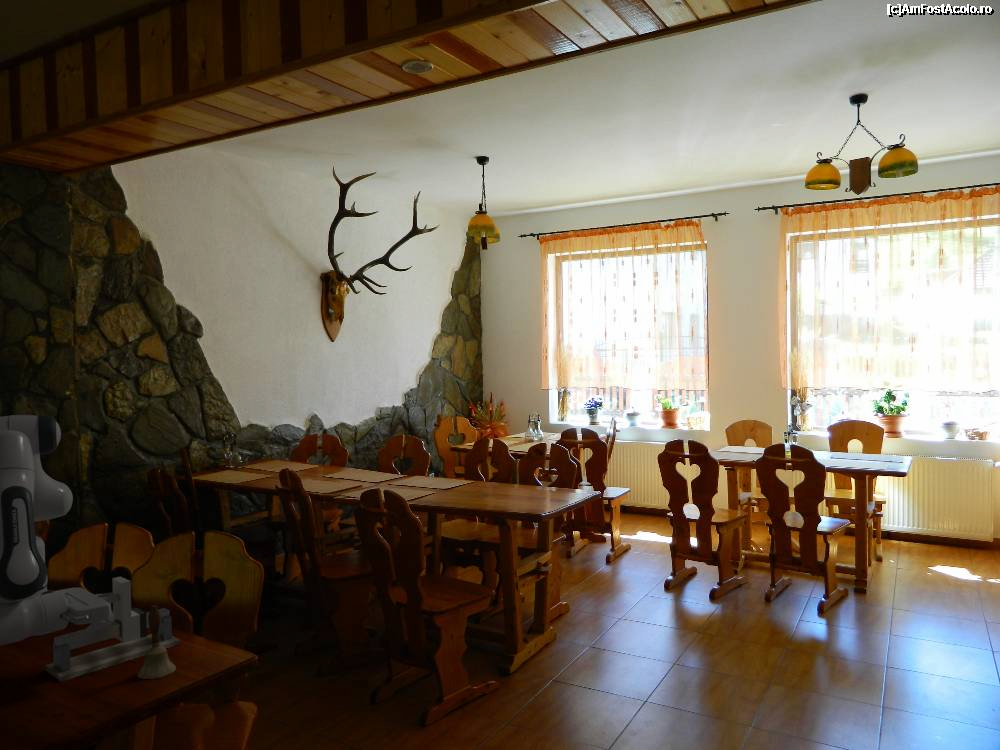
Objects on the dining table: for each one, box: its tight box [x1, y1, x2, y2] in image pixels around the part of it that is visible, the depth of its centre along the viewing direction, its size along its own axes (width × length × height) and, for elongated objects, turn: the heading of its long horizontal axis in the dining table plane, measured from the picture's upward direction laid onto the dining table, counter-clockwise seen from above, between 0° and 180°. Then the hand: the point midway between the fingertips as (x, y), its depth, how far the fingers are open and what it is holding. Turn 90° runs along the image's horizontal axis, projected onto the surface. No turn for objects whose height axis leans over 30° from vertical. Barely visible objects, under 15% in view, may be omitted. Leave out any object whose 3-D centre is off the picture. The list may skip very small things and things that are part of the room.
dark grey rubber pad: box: [131, 607, 148, 638], centre depth 185 cm, size 2×6×6 cm, turn 49°
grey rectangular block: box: [111, 576, 140, 643], centre depth 183 cm, size 4×6×15 cm, turn 49°
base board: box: [45, 633, 181, 683], centre depth 181 cm, size 28×10×1 cm, turn 139°
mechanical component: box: [85, 610, 114, 629], centre depth 199 cm, size 10×4×10 cm
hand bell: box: [137, 604, 177, 680], centre depth 172 cm, size 8×8×16 cm
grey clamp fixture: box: [52, 607, 173, 672], centre depth 181 cm, size 26×5×7 cm, turn 139°
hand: (116, 596), depth 181 cm, fingers closed
